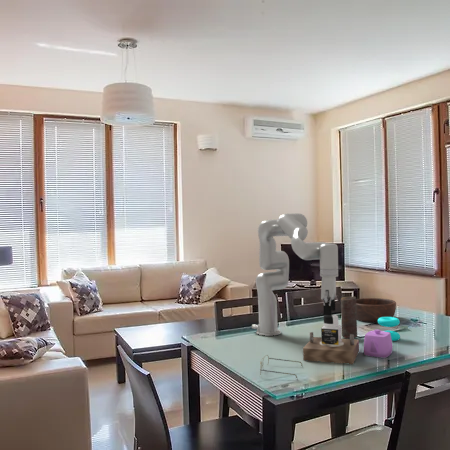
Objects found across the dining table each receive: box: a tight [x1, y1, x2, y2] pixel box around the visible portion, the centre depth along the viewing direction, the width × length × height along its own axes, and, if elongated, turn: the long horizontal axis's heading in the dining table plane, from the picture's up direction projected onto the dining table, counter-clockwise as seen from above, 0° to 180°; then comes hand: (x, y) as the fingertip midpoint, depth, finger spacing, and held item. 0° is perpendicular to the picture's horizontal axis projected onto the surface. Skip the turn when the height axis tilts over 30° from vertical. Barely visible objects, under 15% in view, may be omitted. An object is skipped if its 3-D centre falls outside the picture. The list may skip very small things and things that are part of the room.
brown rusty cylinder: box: [340, 296, 358, 339], centre depth 227 cm, size 8×7×20 cm
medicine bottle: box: [320, 313, 342, 346], centre depth 199 cm, size 7×7×12 cm
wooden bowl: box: [356, 297, 397, 323], centre depth 270 cm, size 25×25×10 cm
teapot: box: [363, 328, 393, 359], centre depth 199 cm, size 18×10×10 cm, turn 146°
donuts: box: [377, 316, 401, 342], centre depth 223 cm, size 10×10×10 cm
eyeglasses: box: [259, 354, 303, 379], centre depth 180 cm, size 16×15×5 cm
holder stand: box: [302, 331, 360, 365], centre depth 199 cm, size 20×20×9 cm
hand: (329, 312), depth 199 cm, fingers open, 9 cm apart
